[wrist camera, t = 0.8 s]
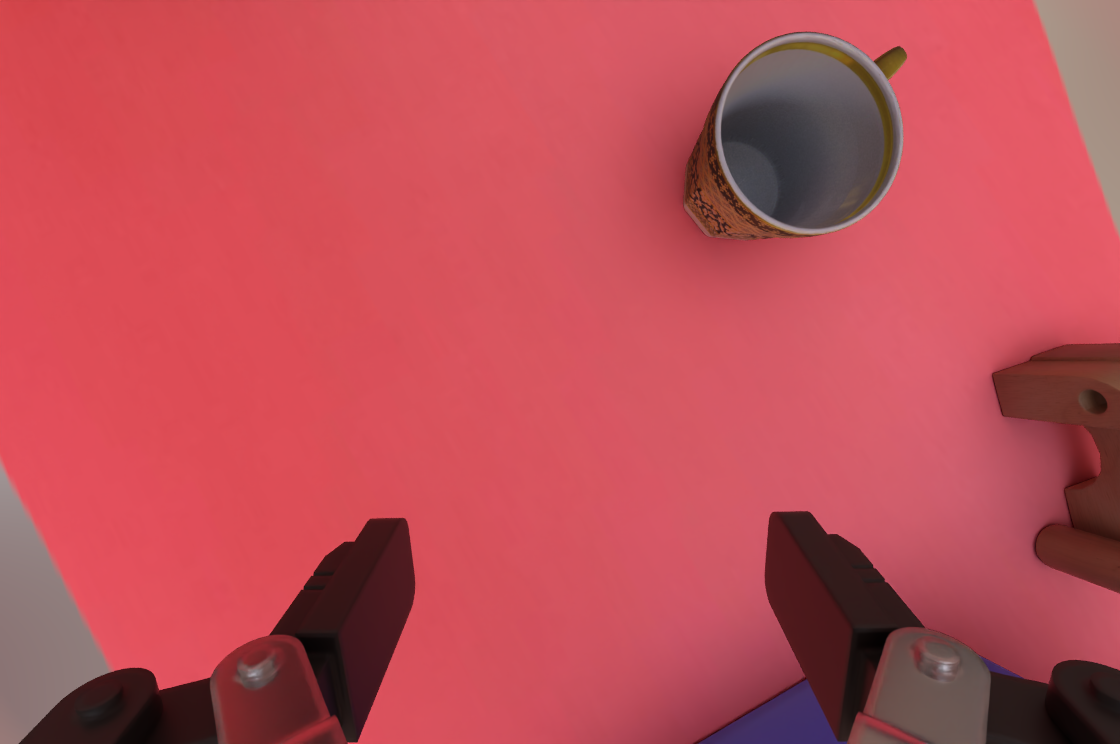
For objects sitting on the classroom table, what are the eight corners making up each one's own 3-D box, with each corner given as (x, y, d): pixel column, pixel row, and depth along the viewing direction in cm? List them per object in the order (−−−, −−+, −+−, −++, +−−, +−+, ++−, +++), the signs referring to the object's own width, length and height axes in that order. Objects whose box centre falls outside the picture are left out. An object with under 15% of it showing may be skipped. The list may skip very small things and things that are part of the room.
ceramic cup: (721, 296, 38) (800, 275, 28) (626, 180, 37) (673, 115, 27) (858, 175, 39) (982, 112, 29) (769, 58, 38) (866, -48, 28)
